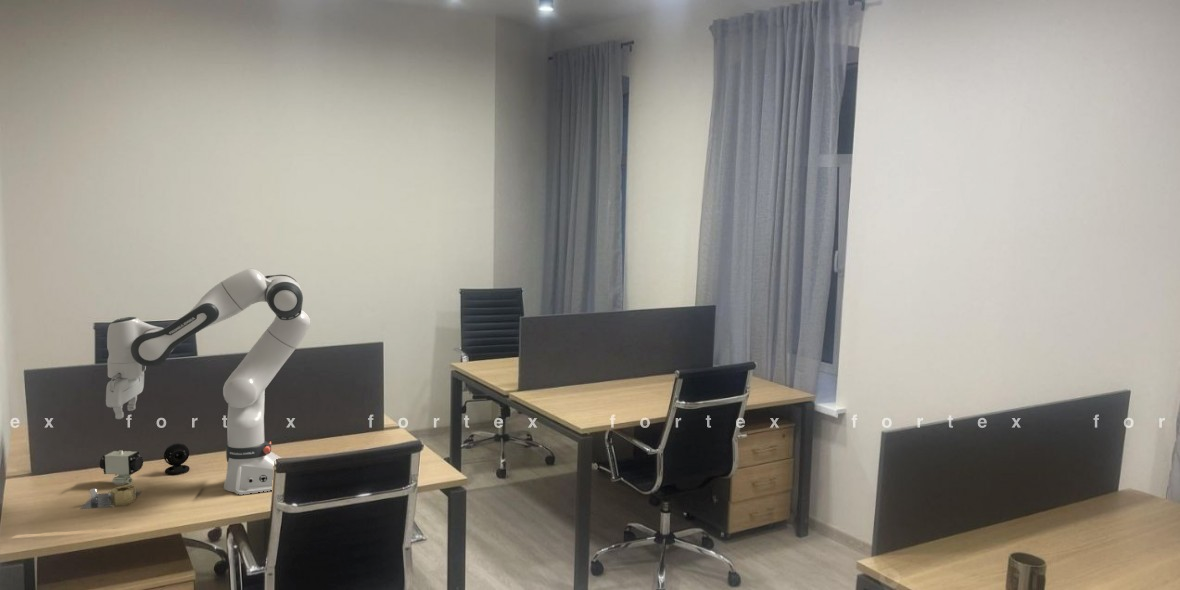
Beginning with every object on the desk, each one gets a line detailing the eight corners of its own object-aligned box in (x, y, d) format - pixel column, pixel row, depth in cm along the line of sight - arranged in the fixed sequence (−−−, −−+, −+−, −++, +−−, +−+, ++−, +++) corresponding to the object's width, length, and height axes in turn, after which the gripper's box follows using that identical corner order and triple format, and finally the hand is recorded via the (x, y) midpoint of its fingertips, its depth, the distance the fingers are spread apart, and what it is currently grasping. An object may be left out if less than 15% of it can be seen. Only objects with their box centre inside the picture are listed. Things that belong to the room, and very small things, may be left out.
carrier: (142, 494, 239) (141, 478, 238) (127, 509, 227) (127, 492, 227) (96, 497, 236) (95, 480, 235) (79, 512, 224) (78, 494, 224)
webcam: (166, 477, 255) (165, 448, 253) (162, 470, 260) (161, 442, 259) (192, 472, 259) (191, 444, 258) (187, 466, 265) (186, 439, 264)
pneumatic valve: (135, 489, 243) (134, 453, 242) (100, 487, 244) (98, 452, 242) (146, 482, 249) (144, 447, 248) (111, 481, 249) (109, 446, 248)
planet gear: (137, 497, 234) (137, 484, 234) (130, 504, 228) (130, 492, 228) (116, 498, 233) (115, 486, 232) (108, 506, 227) (108, 493, 227)
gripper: (123, 377, 220) (123, 423, 222) (147, 363, 240) (148, 405, 242) (98, 377, 219) (100, 423, 221) (125, 363, 239) (126, 406, 240)
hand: (125, 414), depth 231 cm, fingers open, 8 cm apart
